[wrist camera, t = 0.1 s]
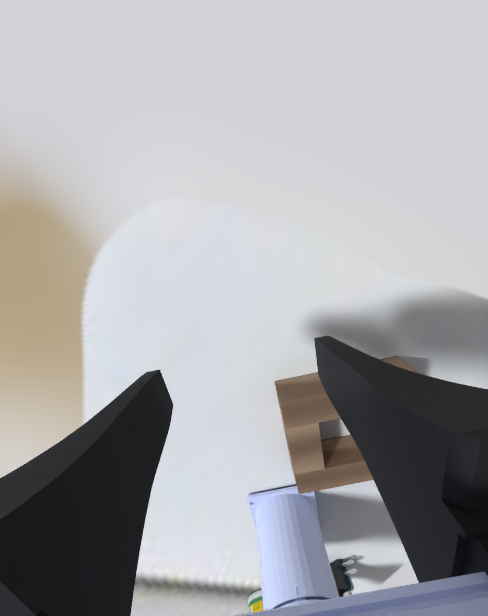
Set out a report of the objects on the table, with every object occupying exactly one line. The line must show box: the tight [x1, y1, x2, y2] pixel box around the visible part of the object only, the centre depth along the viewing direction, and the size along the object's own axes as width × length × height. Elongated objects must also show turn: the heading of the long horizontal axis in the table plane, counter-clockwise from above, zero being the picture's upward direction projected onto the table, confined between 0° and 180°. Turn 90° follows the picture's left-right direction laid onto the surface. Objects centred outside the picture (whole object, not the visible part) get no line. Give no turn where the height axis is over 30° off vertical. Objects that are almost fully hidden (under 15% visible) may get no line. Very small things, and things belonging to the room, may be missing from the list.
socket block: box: [275, 356, 417, 494], centre depth 24 cm, size 12×12×3 cm
